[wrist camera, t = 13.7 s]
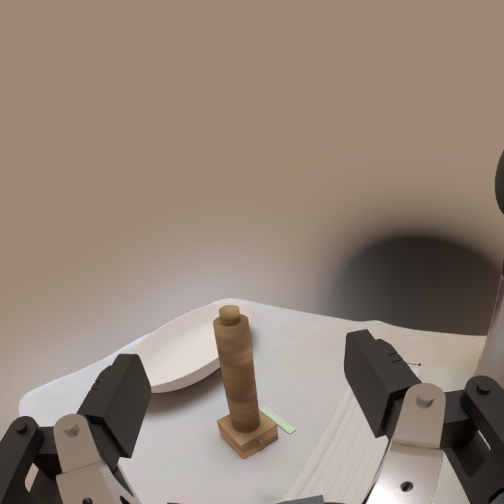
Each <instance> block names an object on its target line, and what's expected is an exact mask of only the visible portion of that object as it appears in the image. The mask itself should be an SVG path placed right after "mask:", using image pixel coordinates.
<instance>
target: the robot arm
mask: <svg viewBox="0 0 504 504" xmlns="http://www.w3.org/2000/svg"><path fill="white" fill-rule="evenodd" d="M495 193H496V200H497V203H498V206H499V208H500V210H501V212H502V213H503V214H504V150H503V152H502V155H501V157H500V159H499V163H498V166H497V171H496V177H495ZM344 372H345V376H346V379H347V381H348V383H349V385H350V387H351V389H352V391H353V393H354V395H355V397H356V399H357V401H358V403H359V405H360V407H361V410H362V412H363V414H364V416H365V418H366V420H367V422H368V424H369V426H370V428H371V430H372V432H373V434H374V436H375V439H376V438H379V437H382V436H385V435H386V437H387V439H388V443H387V446H386V448H385V451H384V454H383V456H382V459H381V461H380V464H379V466H378V469H377V471H376V473H375V476H374V478H373V480H372V482H371V485H370V487H369V489H368V491H367V493H366V494H365V496H364V498H363V500H362V502H361V504H432V500H433V497H434V493H435V490H436V486H437V482H438V478H439V474H440V470H441V465H442V460H443V454H444V452H445V454H446V456H447V458H448V460H449V462H450V463H451V465H452V467H453V469H454V471H455V473H456V475H457V477H458V479H459V481H460V483H461V485H462V487H463V489H464V491H465V493H466V495H467V498H468V500H469V502H470V504H504V261H503V268H502V274H501V280H500V286H499V291H498V296H497V301H496V305H495V310H494V314H493V318H492V321H491V325H490V329H489V332H488V336H487V339H486V342H485V345H484V348H483V351H482V354H481V357H480V360H479V363H478V365H477V368H476V371H475V373H474V376H473V377H472V378H471V379H470V380H469V381H468V382H467V384H466V386H465V389H464V390H458V391H452V392H443V390H442V389H440V388H439V387H438V386H436V385H433V384H429V383H422V382H421V381H420V380H419V379H418V377H417V376H416V375H415V374H414V372H413V371H412V370H411V369H410V367H409V366H408V365H407V364H406V362H405V361H403V359H402V357H401V356H400V355H399V354H397V351H396V350H395V349H394V348H393V347H392V345H391V344H389V343H387V342H385V341H384V340H382V339H377V340H375V339H374V337H373V336H372V335H371V334H370V332H369V331H368V330H367V329H364V330H360V331H355V332H350V333H347V336H346V346H345V358H344ZM150 398H151V385H150V382H149V379H148V377H147V374H146V372H145V369H144V366H143V364H142V361H141V359H140V357H139V355H138V354H119V355H118V356H117V358H116V359H115V361H114V363H113V364H112V366H110V365H109V366H108V367H107V368H106V369H104V370H103V371H102V372H101V373H100V374H99V376H98V378H97V379H96V381H95V383H94V384H93V386H92V388H91V390H90V391H89V393H88V394H87V396H86V398H85V399H84V401H83V403H82V405H81V406H80V408H79V410H78V412H77V413H76V414H69V415H66V416H63V417H62V418H60V419H59V420H58V421H57V422H56V424H55V426H53V427H39V425H38V424H37V423H36V421H35V420H34V419H33V418H32V417H29V416H22V417H19V418H17V419H16V420H15V421H13V423H12V424H11V425H10V427H9V429H8V430H7V432H6V433H5V435H4V437H3V438H2V440H1V442H0V504H142V503H141V502H140V501H139V499H138V497H137V496H136V494H135V492H134V491H133V489H132V487H131V485H130V483H129V482H128V480H127V478H126V476H125V474H124V472H123V470H122V468H121V466H120V465H119V464H118V460H119V457H124V458H131V457H132V454H133V450H134V447H135V444H136V441H137V438H138V434H139V431H140V428H141V425H142V422H143V419H144V416H145V413H146V410H147V407H148V404H149V401H150ZM479 430H480V432H481V433H482V435H483V436H484V438H485V439H486V441H487V442H488V444H489V445H490V449H491V451H490V449H489V448H488V446H487V445H486V443H485V442H484V440H483V439H482V437H481V436H480V434H479V433H478V431H479ZM32 463H34V464H35V466H37V468H38V469H39V470H38V472H37V475H36V477H35V480H34V482H33V485H32V487H31V490H30V492H28V491H27V489H26V487H25V479H26V476H27V474H28V471H29V469H30V467H31V465H32ZM167 504H177V503H168V502H167ZM277 504H345V503H337V502H324V498H323V495H318V496H313V497H308V498H302V499H296V500H289V501H283V502H280V503H277Z"/></svg>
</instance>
